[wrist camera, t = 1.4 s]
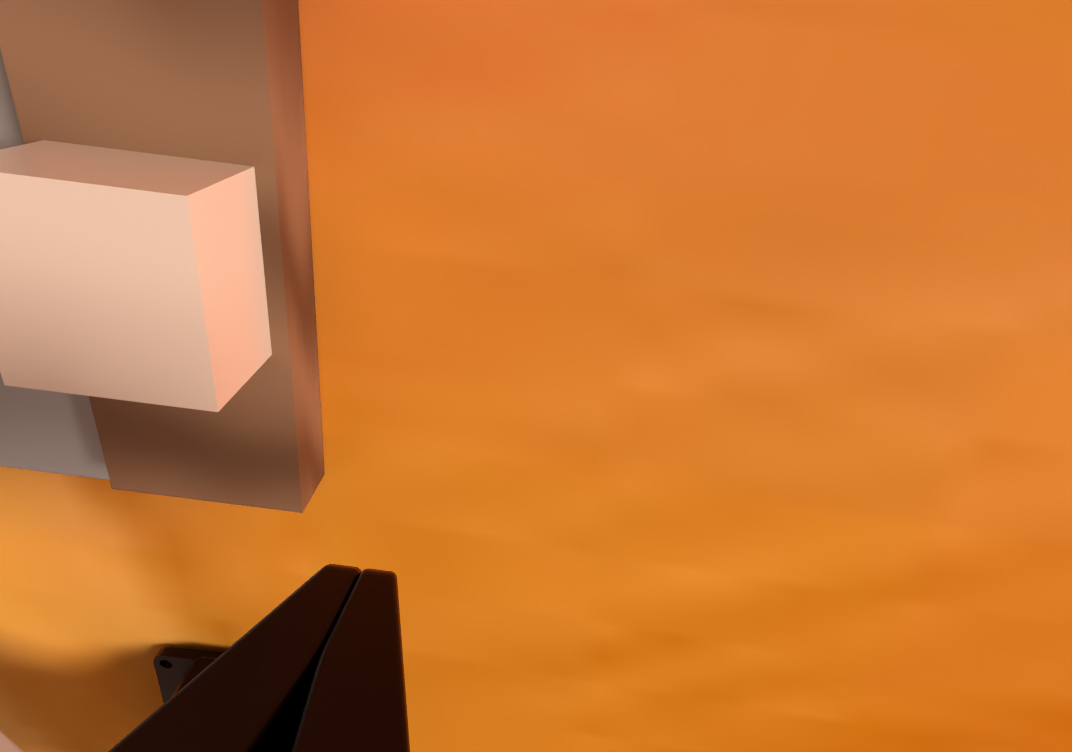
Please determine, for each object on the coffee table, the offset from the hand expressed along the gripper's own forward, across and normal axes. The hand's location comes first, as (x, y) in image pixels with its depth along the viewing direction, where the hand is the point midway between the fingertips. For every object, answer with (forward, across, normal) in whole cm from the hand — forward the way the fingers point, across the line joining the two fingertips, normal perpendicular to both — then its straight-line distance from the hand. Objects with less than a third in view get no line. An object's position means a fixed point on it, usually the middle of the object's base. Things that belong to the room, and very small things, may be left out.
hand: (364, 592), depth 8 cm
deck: (+12, +8, 0) cm, 14 cm away
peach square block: (+10, +8, 0) cm, 13 cm away
